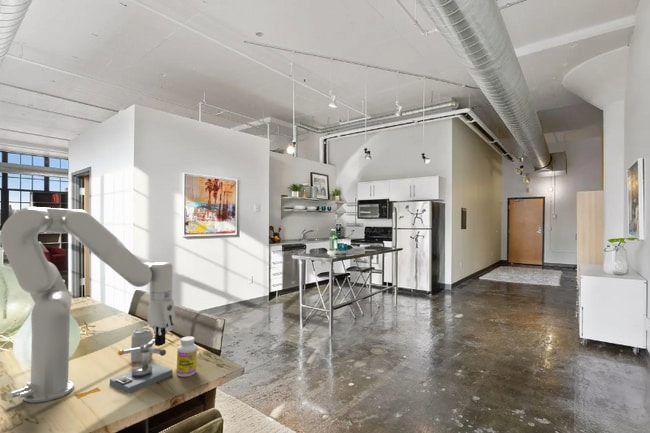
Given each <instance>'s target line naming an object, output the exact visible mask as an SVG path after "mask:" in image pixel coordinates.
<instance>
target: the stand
mask: <svg viewBox="0 0 650 433" xmlns="http://www.w3.org/2000/svg"><path fill="white" fill-rule="evenodd" d="M148 365H150V366H152V373H151V374H149V375H147V376H143V377H133V376H132V375H131V373H132V370H131V371H128V372H126V373H121V374H119V375H117V376H115V377H111V378H109V385H110V386H111V387H113V388H115V389H117V390H119V391H121V392H124V393H126V394H129V395H130V394H132V393H134V392H137V391H139V390H141V389H143V388H146V387H149V386H151V385H152V384H155V383H157V382H159V381H162V380H165V379H167V378H169V377H171V376H173V369H172V368H169V367H167V366H164V365H161V364H158V363H156V362H151V363H148Z"/></svg>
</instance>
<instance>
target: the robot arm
mask: <svg viewBox="0 0 650 433" xmlns="http://www.w3.org/2000/svg"><path fill="white" fill-rule="evenodd" d="M40 233H45V234H46V233H47V234H69V235H70V236H71V237H73V238H74V239H75V240H76V241H78V243H81V244H82V245H83V247H85V248H86V249H87V250H88V251H90V252H91V253H92V254H93V255H95V256H96V257H97V258H98V259H99V260H100V261H102V262H104V264H106V265H107V266H109V267H110V268H111V269H112V270H113V271H115V272H116V273H117V274H118V275H119V276H121V278H123V279H124V280H125V281H127V282H128V283H129V284H130V285H131V286H134V287H138V288H141V287H142V288H143V287H144V286H146V285H148V284H149V301H148V308H147V324H148V325H149V328H150V329H152V330H153V335H154V337H155V343H154V346H156V347H160V346H163V345H166V334H167V333H168V332H170V331H172V326H174V325H176V310H175V303H174V299H173V264H172V263H171V262H170V261H169V262H168V261H157V262H143V261H141V260H140V259H139V258H138V257H136V256H135V255H134V254H133V252H131V251H130V250H129V249H128V248H127V247H126V246H125V245H124V244H123V242H122V241H121V240H120V239H119V238H118V237H117V236H116V235H114V234H113V233H112V232H111V231H110V230H108V229H107V228H106V227H105V226H104V225H103V224H101V222H100V221H98V220H97V219H96V218H95V217H94V216H92V215H91V214H90V212H88V211H86V210H84V209H81V208H79V209H78V208H77V209H75V208H74V209H72V208H71V209H70V208H69V209H68V208H55V207H54V208H53V207H52V208H51V207H40V206H38V207H37V206H26V207H23V208H20V209H19V210H17V211H15V212H14V213H13V214H12V215H10V216H9V217H8V218H7V219H6V220H5V222H4V223H3V225H2V227H1V230H0V244H1V247H2V249H3V252H4V254H5V255H6V258H7V260H8V263H9V265H10V268H11V269H12V271H13V274H14V276H15V278H16V280H17V282H18V285H19V286H20V288H21V289H22V290H23V291H24V292H26V293H28V294H30V296H31V298H32V301H33V302H34V305H33V307H32V311H31V314H30V315H31V318H30V320H31V321H30V323H31V356H30V357H31V358H30V359H31V360H30V381H28V382H26V385H25V386H23V387H21V388H19V389H15V390H12V391H10V393H9V396H10V397H9V398H10V399H15V398H17V397H19V399H22V398H23V400H24V401H25V402H26V403H27V402H28V403H35V404H37V403H44V402H48V401H49V402H50V401H54V400H56V399H57V400H58V399H60V398H62V397H64V396H66V395H68V394H70V392H72V391H73V390H74V386H75V385H74V384H75V383H74V382H73V381H71V380H69V368H70V367H69V363H70V362H69V361H70V331H71V330H70V329H71V328H70V324H71V323H70V322H71V320H70V319H71V307H72V297H71V294H70V292H69V290H68V287H67V286H66V284H65V281H64V280H63V277H62V275H61V273H60V271H59V269H58V268H57V266H56V265H55V264H54V263H52V262H50V261H49V260H48V259H47V257H46V255H45V253H44V250H43V248H42V246H41V244H40V243H39V240H38V236H39V234H40Z"/></svg>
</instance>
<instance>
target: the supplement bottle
mask: <svg viewBox="0 0 650 433" xmlns="http://www.w3.org/2000/svg"><path fill="white" fill-rule="evenodd" d="M197 351H198V346H197V344H195V337H194V336H192V335H191V336H184V337H181V338H180V345H179V346H178V347H177V351H176V352H177V353H176V356H177V358H176V359H177V360H176V375H177V376H178V377H181V378H182V377H183V378H185V377H191V376H193V375H195V374H196V371H197V360H198V359H197V355H198V354H197Z"/></svg>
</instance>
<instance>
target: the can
mask: <svg viewBox="0 0 650 433" xmlns="http://www.w3.org/2000/svg"><path fill="white" fill-rule="evenodd" d="M153 338H154V331H152V328H151V327H141V328H136V329H134V330H133V333H132V334H131V344H130V346H131V348H130V349H132V348H137V347H140V346H141V345H143V344H148V343H149V342H150V341H151V340H152V339H153ZM153 345H154V344H153ZM153 345H152V346H151V347H153V348H154V346H153ZM152 358H153V352H149V361H150V360H151V359H152ZM130 360H131V361H132V362H133V363H135V364H142V353H141V352H140V351H139V352H133V353H130Z"/></svg>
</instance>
